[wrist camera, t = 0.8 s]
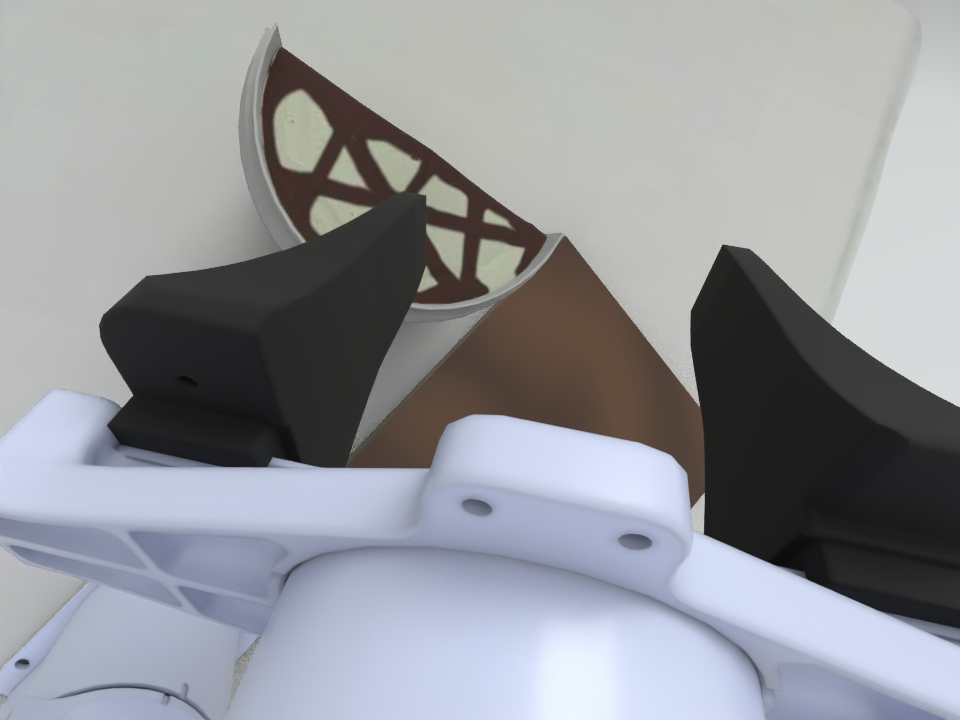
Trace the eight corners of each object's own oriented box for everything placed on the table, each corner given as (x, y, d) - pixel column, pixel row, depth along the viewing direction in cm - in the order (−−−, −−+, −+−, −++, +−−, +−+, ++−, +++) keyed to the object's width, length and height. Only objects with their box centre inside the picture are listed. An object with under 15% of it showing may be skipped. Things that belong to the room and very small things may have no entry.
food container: (202, 230, 24) (148, 193, 15) (268, 117, 24) (256, 9, 15) (428, 354, 28) (497, 386, 19) (481, 257, 29) (574, 241, 19)
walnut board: (542, 678, 34) (548, 687, 33) (310, 497, 27) (310, 503, 26) (727, 450, 37) (735, 453, 36) (558, 236, 30) (565, 235, 29)
